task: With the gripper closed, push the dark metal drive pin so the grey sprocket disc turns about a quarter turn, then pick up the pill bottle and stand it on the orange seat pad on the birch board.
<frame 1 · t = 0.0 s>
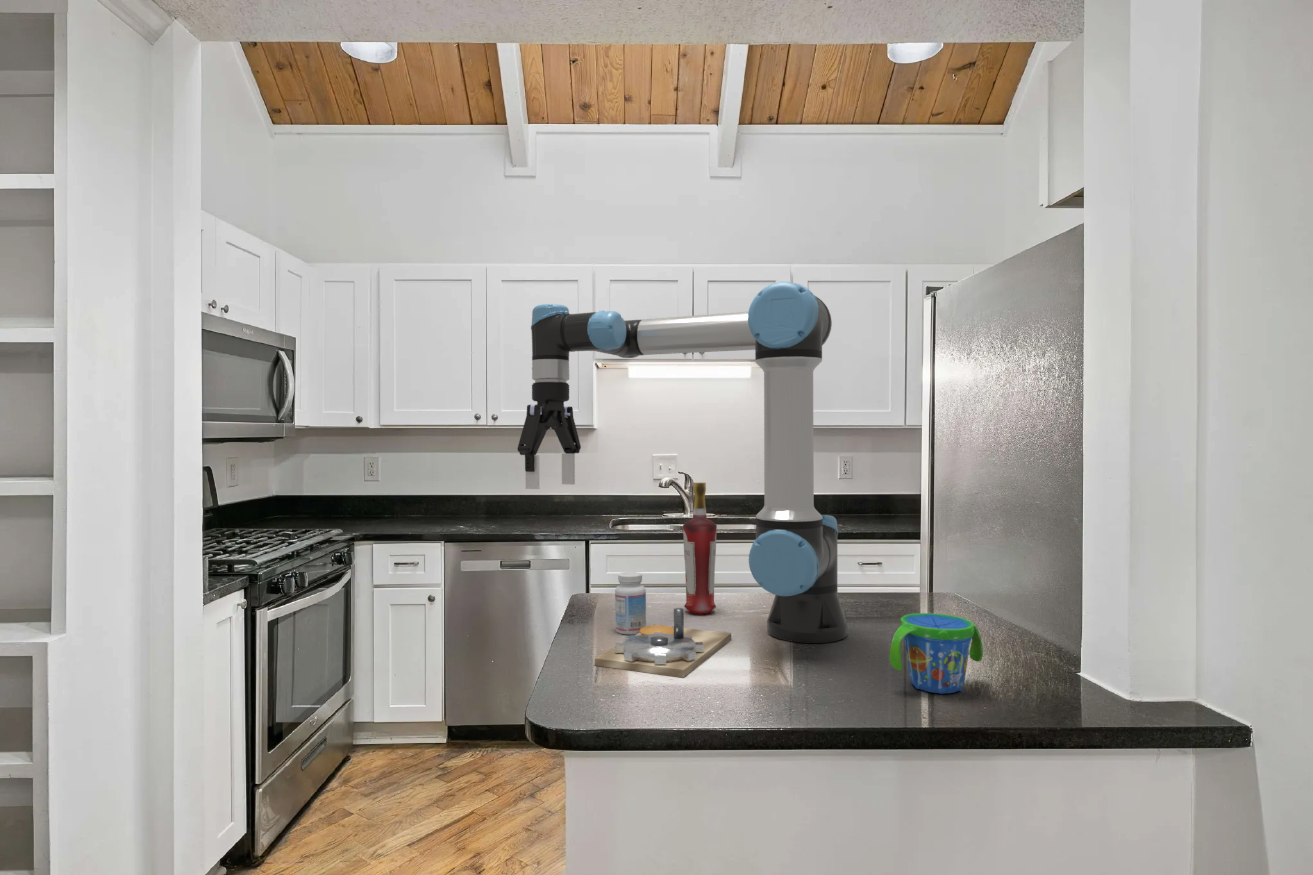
hand: (551, 486, 153), 28 cm above the countertop, fingers open, 13 cm apart
liquor: (700, 613, 163), on the countertop
board: (666, 651, 134), on the countertop
seat pad: (658, 638, 142), resting on board
pill bottle: (630, 632, 148), on the countertop
sprocket disc: (659, 632, 129), point 5 cm above the countertop, hinge at 0.0°
snack cup: (936, 688, 114), on the countertop
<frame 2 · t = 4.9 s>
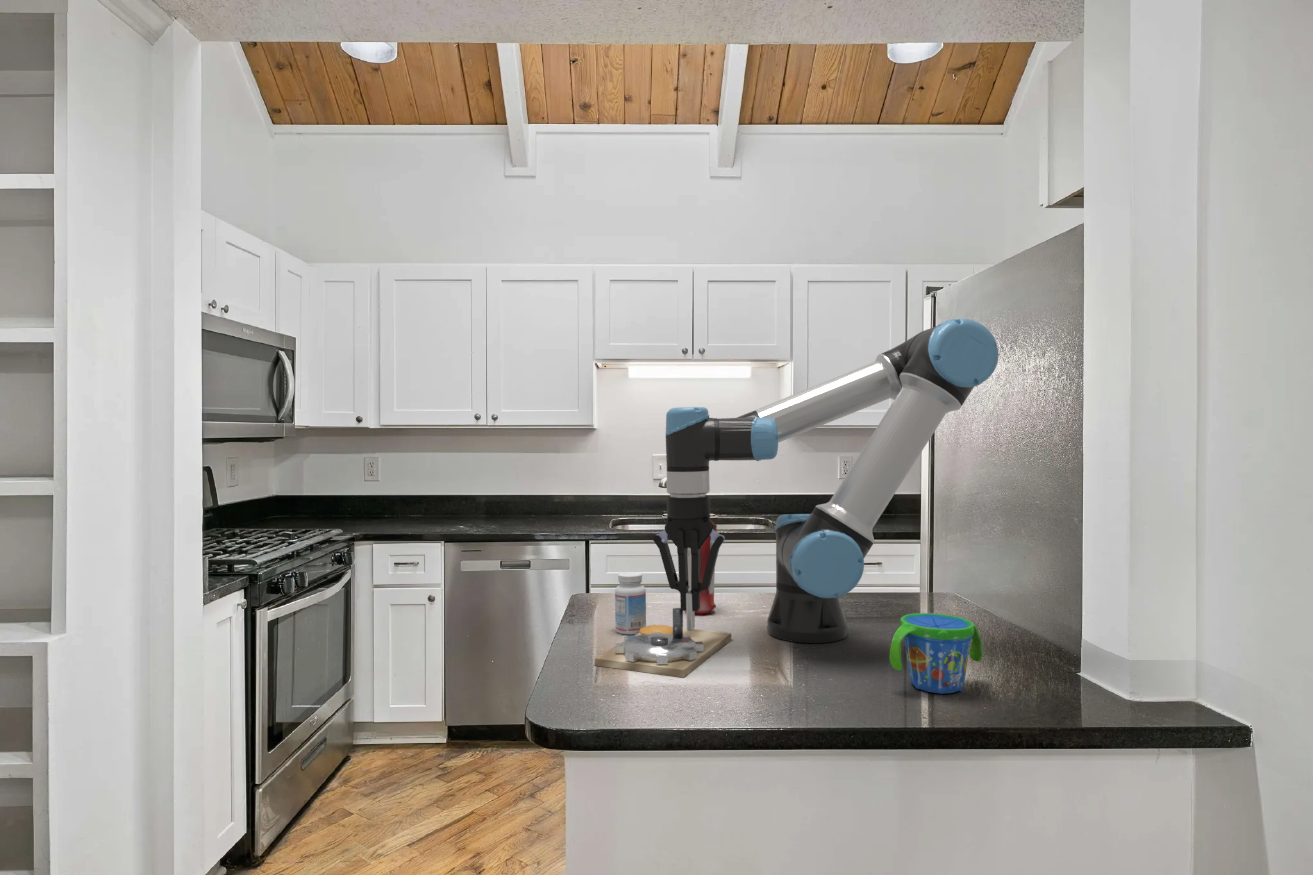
hand: (690, 628, 132), 4 cm above the countertop, fingers closed
sprocket disc: (659, 632, 129), point 5 cm above the countertop, hinge at 2.6°, touching gripper
everything else where it was.
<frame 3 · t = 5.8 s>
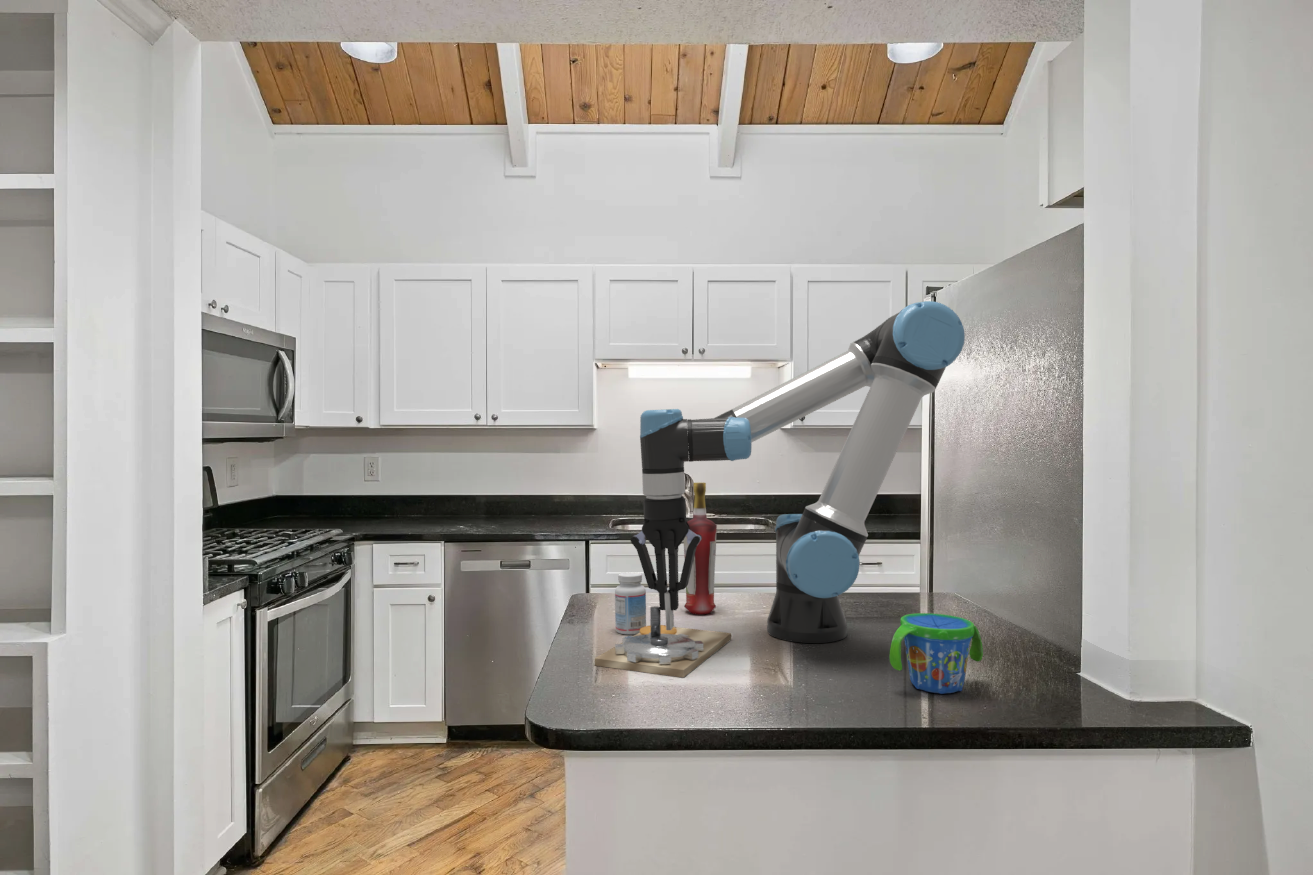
hand: (669, 627, 134), 4 cm above the countertop, fingers closed
sprocket disc: (659, 632, 129), point 5 cm above the countertop, hinge at 51.3°, touching gripper
everything else where it was.
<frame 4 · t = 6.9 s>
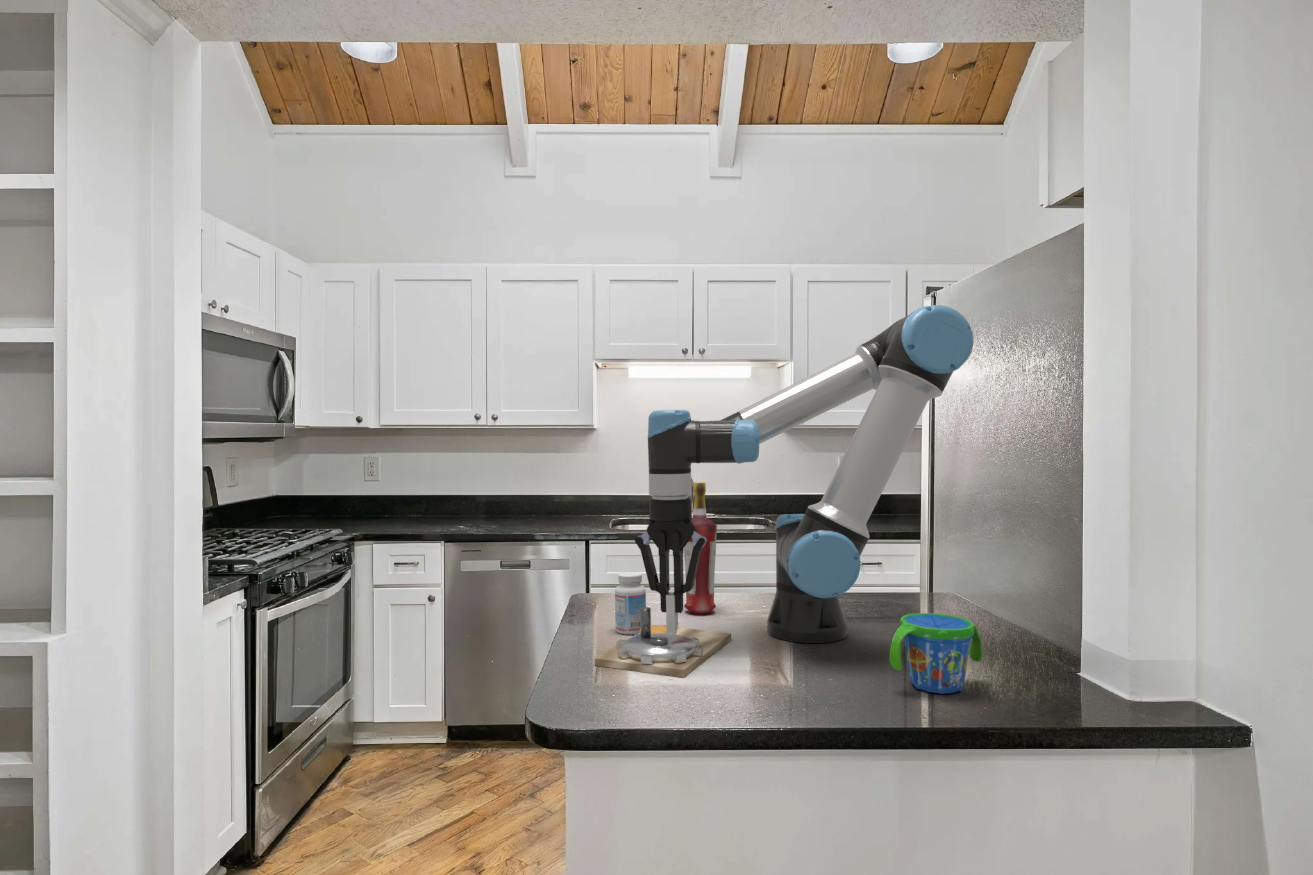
hand: (672, 630, 133), 4 cm above the countertop, fingers closed
sprocket disc: (659, 632, 129), point 5 cm above the countertop, hinge at 72.3°
everything else where it was.
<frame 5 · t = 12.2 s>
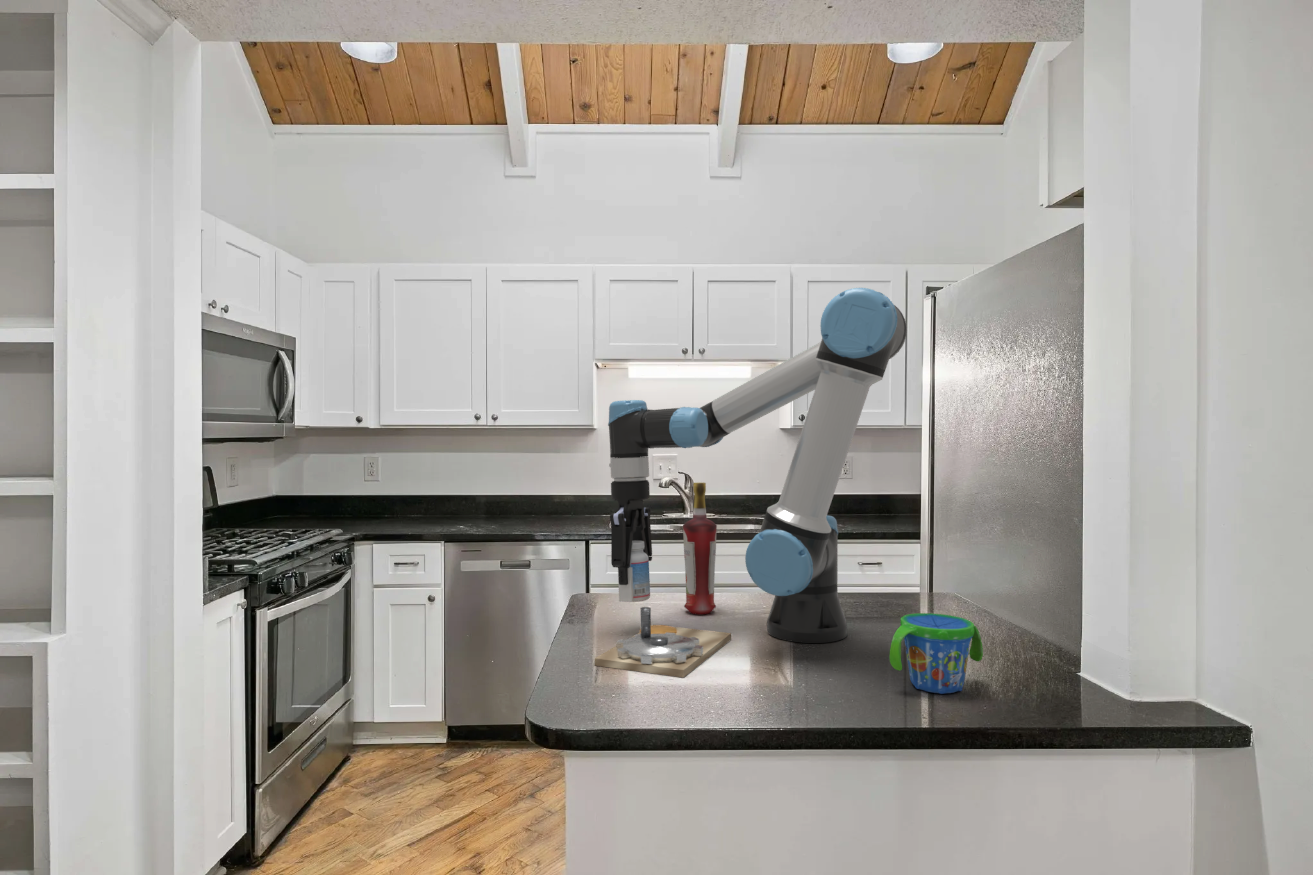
hand: (633, 597, 147), 7 cm above the countertop, fingers closed on pill bottle, 6 cm apart
pill bottle: (634, 600, 147), point 6 cm above the countertop, touching gripper
everything else where it was.
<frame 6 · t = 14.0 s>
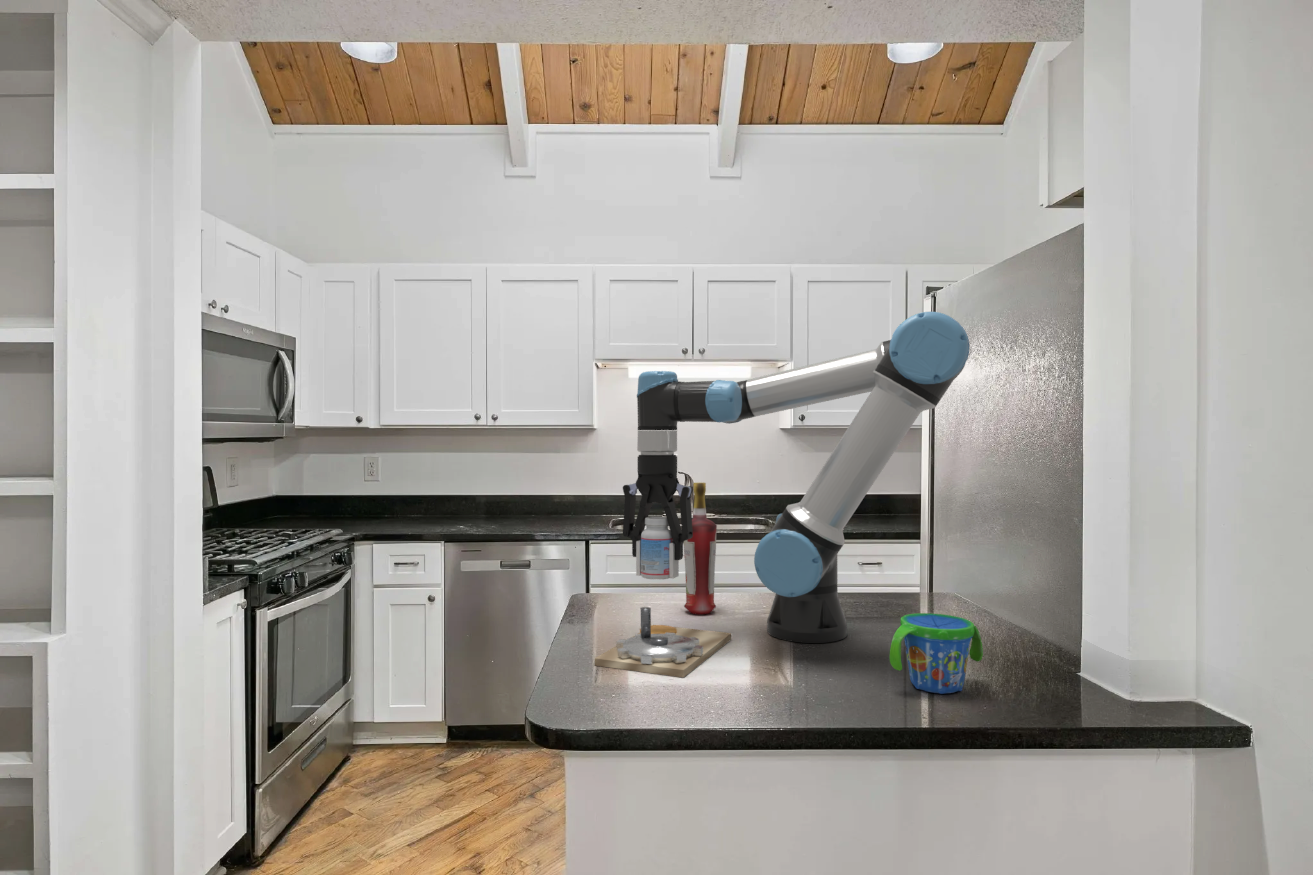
hand: (657, 575, 142), 12 cm above the countertop, fingers closed on pill bottle, 6 cm apart
pill bottle: (656, 578, 142), point 11 cm above the countertop, touching gripper
everything else where it was.
when the fingers open (3 cm above the countertop, at t = 15.8 s): pill bottle stays where it is, resting on seat pad.
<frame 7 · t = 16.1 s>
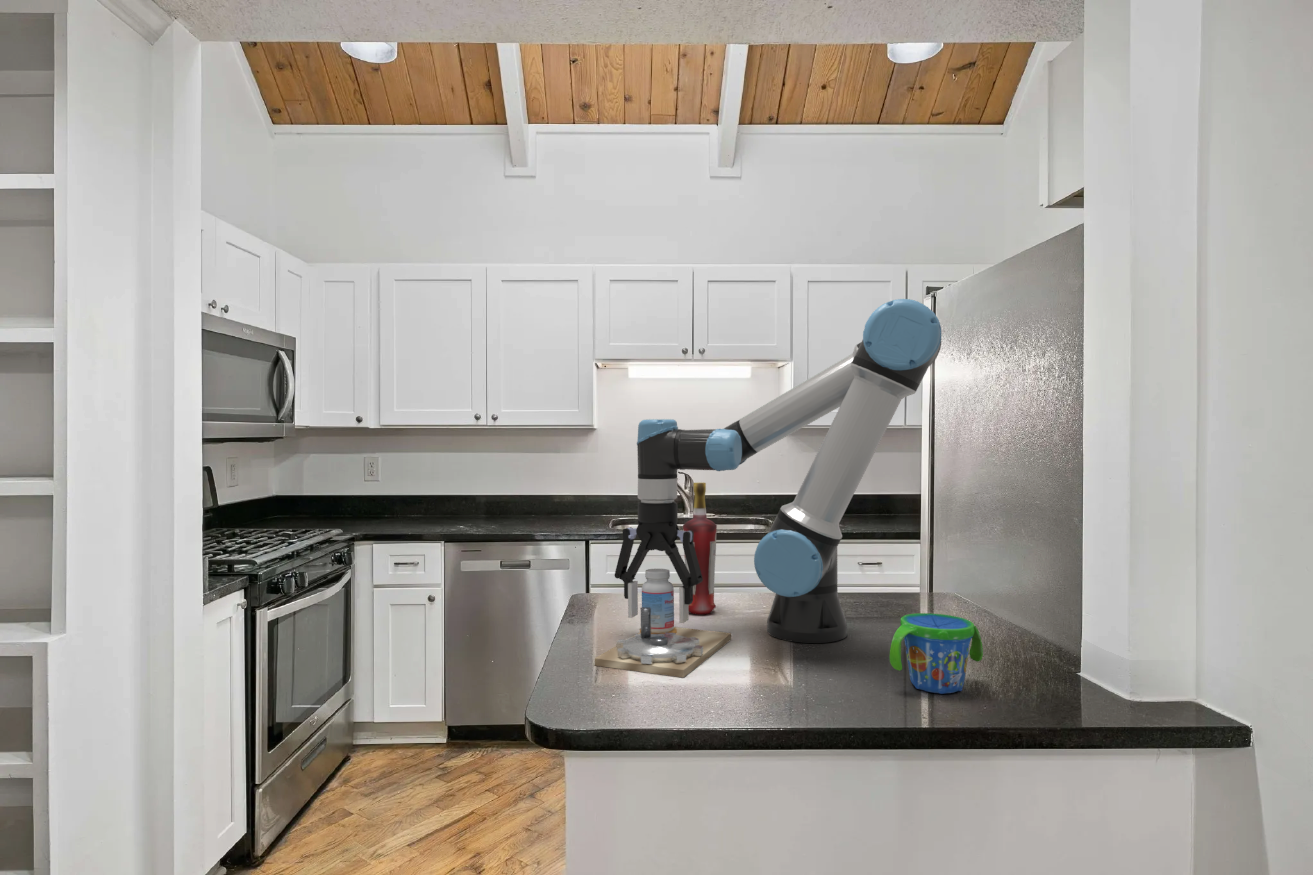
hand: (658, 618, 142), 4 cm above the countertop, fingers open, 10 cm apart
pill bottle: (658, 630, 142), point 1 cm above the countertop, touching seat pad
everything else where it was.
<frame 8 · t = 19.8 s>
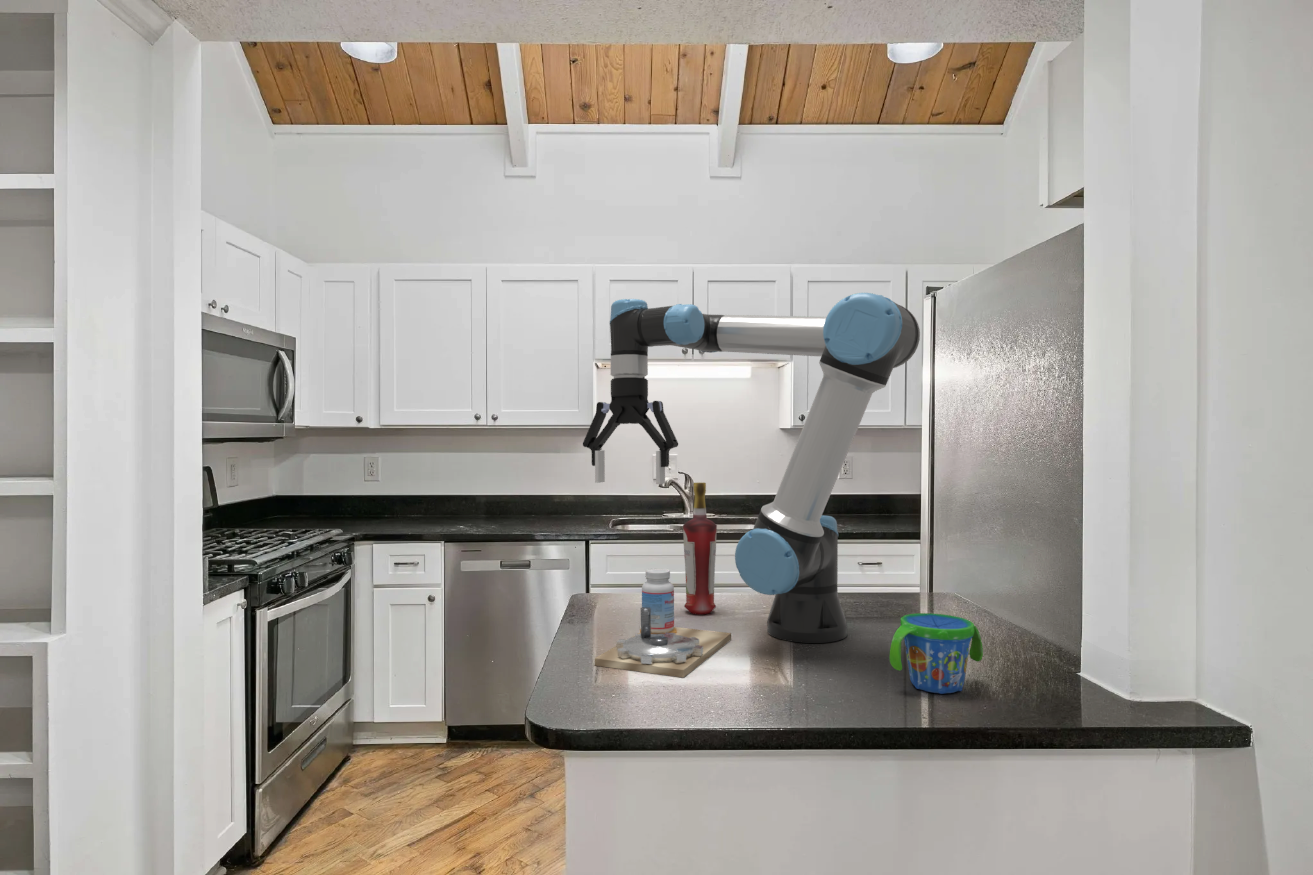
hand: (629, 483, 152), 29 cm above the countertop, fingers open, 13 cm apart
nothing on the countertop moved.
at the end: sprocket disc at +72° (first picture: +0°); pill bottle 0.2 cm from the seat pad (horizontally); pill bottle tilted 0° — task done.
